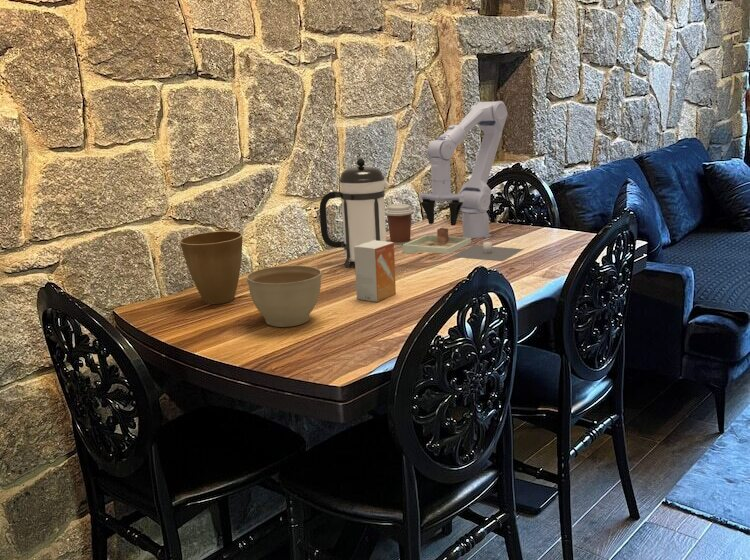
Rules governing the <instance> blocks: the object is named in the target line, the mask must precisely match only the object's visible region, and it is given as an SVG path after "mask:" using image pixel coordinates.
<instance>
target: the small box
mask: <svg viewBox="0 0 750 560" xmlns="http://www.w3.org/2000/svg"><path fill="white" fill-rule="evenodd" d="M354 255H355V263H354V268H355V269H354V271H355V289H356V291H355V293H356V299H357V300H362V301H368V302H374V303H375V302H376V303H378V302H381V301H383V300H385V299H386V298H390V297H391V296H394V295H396V294H397V292H396V291H397V290H396V288H397V287H396V268H395V267H396V266H395V265H396V264H395V263H396V262H395V261H396V260H395V259H396V258H395V244H394V242H390V241H387V240H386V241H377V240H373V241H370V242H367V243H363V244H361V245H358V246H355V247H354Z"/></svg>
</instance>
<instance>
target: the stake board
mask: <svg viewBox="0 0 750 560" xmlns="http://www.w3.org/2000/svg"><path fill="white" fill-rule="evenodd" d="M521 251H524V248H514V247H503V246H502V247H501V246H493V242H491V241H483V245H475V244H474V245H471V246H470V247H467V248H464V249H463V250H461V251H459V252H457V253H455V254H453V255H451V256H450V258H458V259H459V258H461V259H473V260H483V261H494V262H504V261H506V260H508V259H510V258H511V257H513V256H515V255H517V254H518V253H520V252H521Z"/></svg>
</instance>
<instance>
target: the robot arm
mask: <svg viewBox="0 0 750 560" xmlns="http://www.w3.org/2000/svg"><path fill="white" fill-rule="evenodd" d="M508 114H509V113H508V110H507V107H506V105H505V102H504V101H502V100H496V101H476V102H475V103H474V104H473V105H471V107H470V111H469V112H468V113H467V115H465V117H463V119H462V120H461V121H460V122H459V123H458V124H452V125H449V126H448V127H447V130H446V131H445V132H444V133H442V134H441V135H440V136H439V137H438V138H437V139H434V140H432V141H430V142H429V143H428V145H427V149H426V155H427V157H428V159H429V164H430V166H431V167H430V169H431V172H430V173H431V193H430V192H429V193H425V192H424V193H423V192H422V193H419V194H418V195H419V197H418V199H419V201H422V202H420V205H421V207H422V209H423V210H424V212H425V215H426V218H427V222H428V225H432V224H435V205H436V201H437V202H448V208H449V214H450V226H455V225H457V220H458V216H459V213H460V212H462V213H461V216H462V218H461V219H462V221H461V222H462V223H461V224H462V225H461V226H462V237H463V238H471V239H480V238H491V237H492V234H490V218H489V217H490V216H489V214H488V213H487V212H488V211H487V210H488V209H489V207H490V205H491V195H492V190H491V187H489V185H488V184H487V183H488V181H489V179H490V178H489V177H490V175H491V171H492V168H493V164H494V160H495V158H496V155H497V151H498V148H499V145H500V142H501V139H502V135H503V130H504V127H505V123H506V120H507V116H508ZM476 126H478V128H479V130H480V131H482V132H483V137H482V140H481V143H480V146H479V150H478V153H477V157H476V160H475V162H474V166H473V169H472V173H471V176H470V179H469V180H468V181H466V182H465V183H463V184H462V186H461V189H460V191H459V192H458V193H452V189H451V188H452V186H451V183H452V181H451V180H452V179H451V158H453V157H454V154H455V151H456V149H457V147H459V146H460V145H461V144H462V143H463V142H464V141H465V139H466V135H467V133H468V132H469V131H471V130H472V129H473V128H474V127H476Z"/></svg>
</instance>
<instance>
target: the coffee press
mask: <svg viewBox="0 0 750 560" xmlns="http://www.w3.org/2000/svg"><path fill="white" fill-rule="evenodd" d="M365 163H366V162H365V159H363V158H358V159H357V160H356V164H357V166H358V167H351V168H347V169H345V170H343V171H342V172H341V174H340V177H339V178H338V182H339V183H340V191H330V192H328V193H325V194H324V196H323V197H322V198H321V199H320V203H319V221H320V222H319V224H320V233H321V237H322V240H323V242H324V243H325V244H326V245H327V246H329V247H330V248H331V247H332V248H340V249H341V248H342V249H344V254H345V255H344V257H345V260H344V263H343V267H344V268H347V269H351V266H352V265H354V264H355V255H354V247H355V246H358V245H361V244H363V243H367V242H370V241H373V240H377V241H386V242H387V235H386V233H387V231H386V215H385V211H386V210H385V197H386V192H385V188H386V187H387V188H389V187H391V185H390V183H389V182H388V180H387V179H386V177H385V175H384V174H383V171H382V170H381V169H379V168H377V167H372V166H369V167H368V166H364V165H365ZM335 198H340V199H341V209H342V226H343V228H342V230H343V241H334V240H332V239H331V238H330V236H329V233H328V220H327V219H328V218H327V204H328V202H329V201H330V199H331V200H332V199H335Z"/></svg>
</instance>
